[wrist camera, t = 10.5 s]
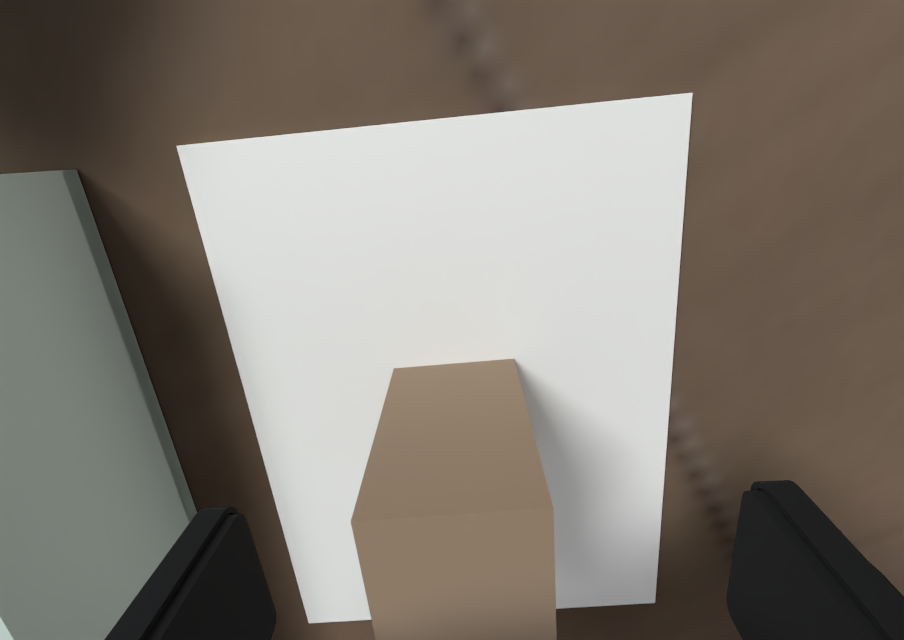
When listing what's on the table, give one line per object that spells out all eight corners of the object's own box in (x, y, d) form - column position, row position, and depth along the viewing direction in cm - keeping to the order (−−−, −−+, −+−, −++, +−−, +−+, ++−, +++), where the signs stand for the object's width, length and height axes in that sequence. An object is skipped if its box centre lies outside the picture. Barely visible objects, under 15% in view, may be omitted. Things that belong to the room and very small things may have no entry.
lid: (192, 145, 13) (-80, 148, 6) (677, 95, 12) (927, 42, 6) (314, 603, 18) (238, 849, 12) (646, 583, 18) (752, 830, 11)
